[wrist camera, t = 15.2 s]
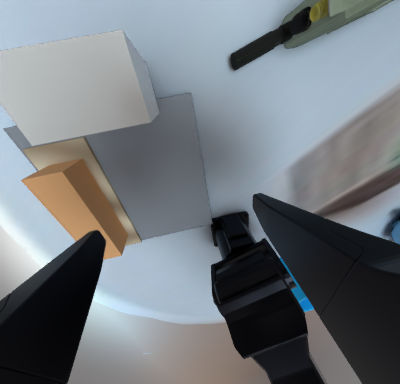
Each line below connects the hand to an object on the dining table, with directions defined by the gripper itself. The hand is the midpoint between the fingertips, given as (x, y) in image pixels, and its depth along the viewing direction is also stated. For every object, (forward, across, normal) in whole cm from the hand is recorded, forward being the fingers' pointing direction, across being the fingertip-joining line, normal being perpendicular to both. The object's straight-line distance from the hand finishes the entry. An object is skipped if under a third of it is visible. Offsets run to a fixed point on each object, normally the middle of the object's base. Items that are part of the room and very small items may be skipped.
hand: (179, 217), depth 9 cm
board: (+12, +6, +3) cm, 14 cm away
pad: (+11, +12, +4) cm, 16 cm away
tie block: (+11, +4, -7) cm, 14 cm away
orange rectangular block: (+11, +11, +4) cm, 16 cm away
